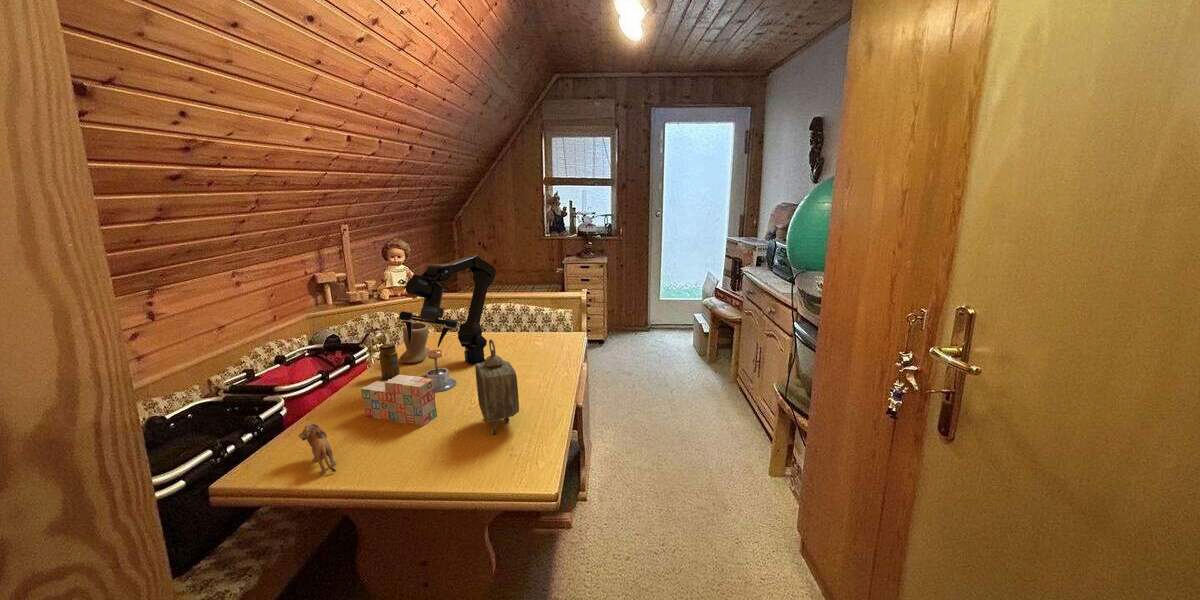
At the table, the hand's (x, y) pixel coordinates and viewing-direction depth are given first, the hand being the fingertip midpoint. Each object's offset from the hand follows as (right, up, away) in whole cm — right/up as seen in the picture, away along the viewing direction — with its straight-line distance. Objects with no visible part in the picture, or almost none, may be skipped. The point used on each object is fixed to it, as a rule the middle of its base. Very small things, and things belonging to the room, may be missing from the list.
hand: (423, 345), depth 162 cm
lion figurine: (-9, -25, -44) cm, 51 cm away
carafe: (+3, -14, +1) cm, 14 cm away
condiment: (-16, -13, +12) cm, 24 cm away
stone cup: (-14, -9, +31) cm, 35 cm away
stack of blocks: (+1, -20, -20) cm, 28 cm away
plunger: (+4, -10, +1) cm, 11 cm away
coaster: (+4, -14, +2) cm, 15 cm away
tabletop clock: (+32, -20, -27) cm, 46 cm away
